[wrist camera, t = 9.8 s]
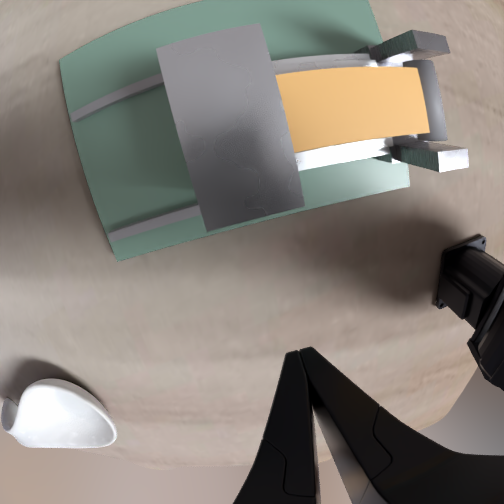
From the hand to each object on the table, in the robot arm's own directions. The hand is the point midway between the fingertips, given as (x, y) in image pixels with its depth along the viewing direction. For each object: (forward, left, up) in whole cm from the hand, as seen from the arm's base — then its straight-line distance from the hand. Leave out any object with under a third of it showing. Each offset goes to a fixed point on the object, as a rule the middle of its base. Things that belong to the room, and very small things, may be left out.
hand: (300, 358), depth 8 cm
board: (-1, -9, -11) cm, 14 cm away
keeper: (0, -7, -11) cm, 13 cm away
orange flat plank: (-5, -7, -7) cm, 11 cm away
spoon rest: (+31, +15, -12) cm, 36 cm away
